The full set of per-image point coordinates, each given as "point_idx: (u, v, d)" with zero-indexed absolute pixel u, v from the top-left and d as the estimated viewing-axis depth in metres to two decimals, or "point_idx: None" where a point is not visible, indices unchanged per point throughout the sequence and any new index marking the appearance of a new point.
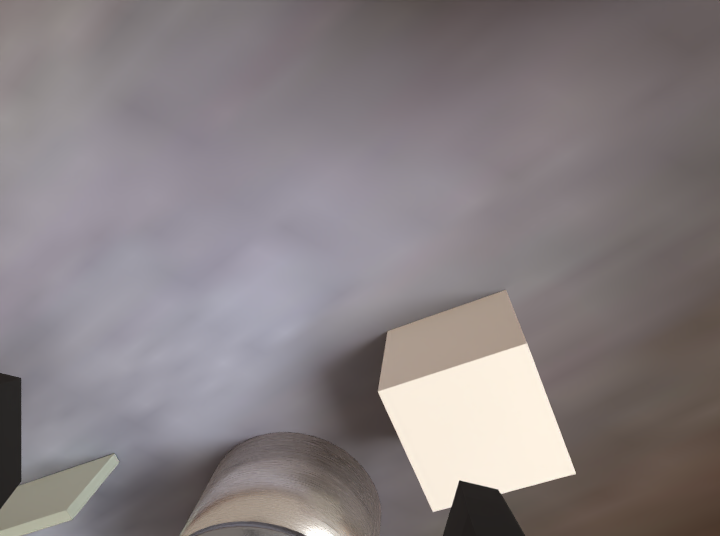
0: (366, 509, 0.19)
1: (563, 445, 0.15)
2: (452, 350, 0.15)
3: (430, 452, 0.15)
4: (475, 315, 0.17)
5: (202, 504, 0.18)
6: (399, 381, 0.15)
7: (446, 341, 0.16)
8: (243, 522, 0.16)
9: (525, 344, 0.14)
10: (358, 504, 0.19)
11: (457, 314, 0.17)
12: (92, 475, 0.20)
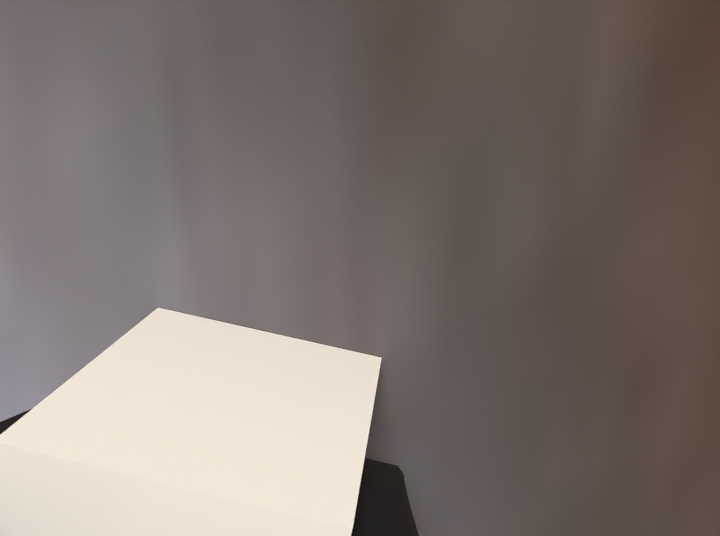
0: None
1: (265, 511, 0.06)
2: None
3: None
4: None
5: None
6: None
7: None
8: None
9: None
10: None
11: None
12: None
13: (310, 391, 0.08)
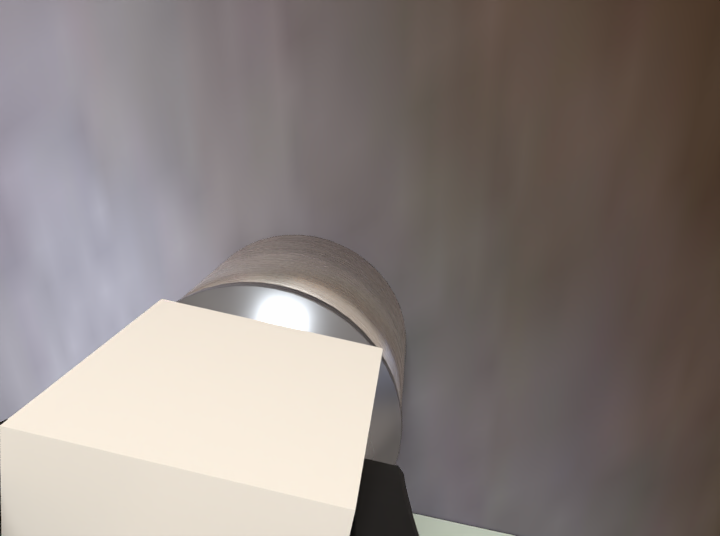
0: (295, 249, 0.15)
1: (270, 494, 0.06)
2: None
3: None
4: None
5: None
6: None
7: None
8: None
9: (2, 428, 0.06)
10: (274, 252, 0.15)
11: None
12: None
13: (312, 380, 0.08)
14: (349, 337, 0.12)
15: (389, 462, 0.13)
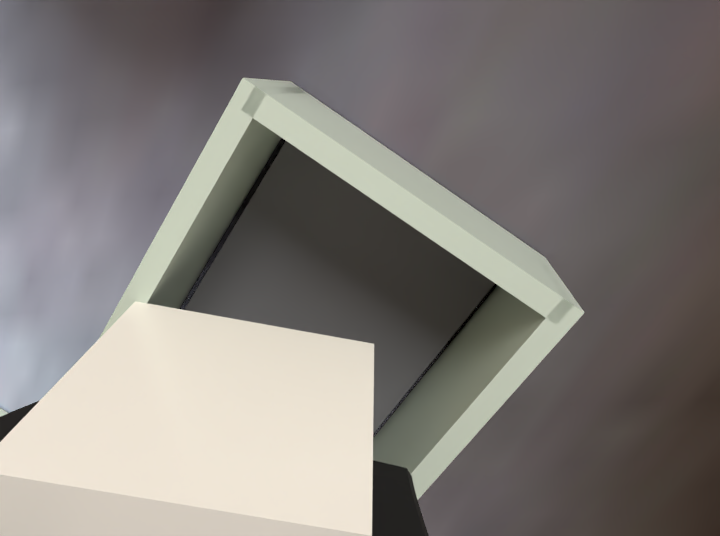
0: None
1: (280, 524, 0.06)
2: None
3: None
4: None
5: None
6: None
7: None
8: None
9: None
10: None
11: None
12: None
13: (307, 386, 0.08)
14: None
15: None
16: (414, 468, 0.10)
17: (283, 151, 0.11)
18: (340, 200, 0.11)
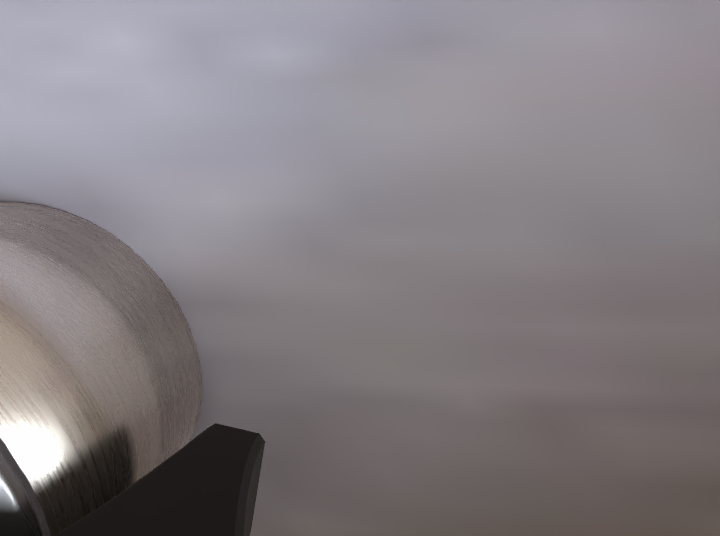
0: (164, 438, 0.09)
1: None
2: None
3: None
4: None
5: None
6: None
7: None
8: None
9: None
10: (154, 423, 0.09)
11: None
12: None
13: None
14: None
15: None
16: None
17: None
18: None
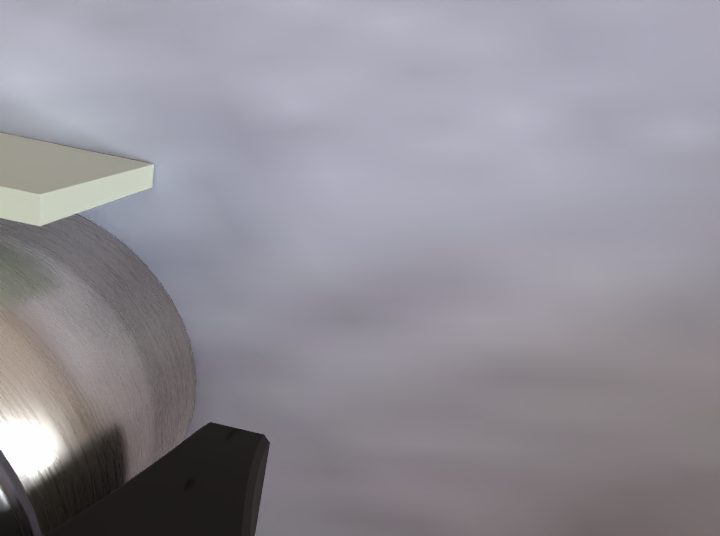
0: (158, 437, 0.09)
1: None
2: None
3: None
4: None
5: None
6: None
7: None
8: None
9: None
10: (147, 422, 0.09)
11: None
12: (105, 171, 0.09)
13: None
14: None
15: None
16: None
17: None
18: None
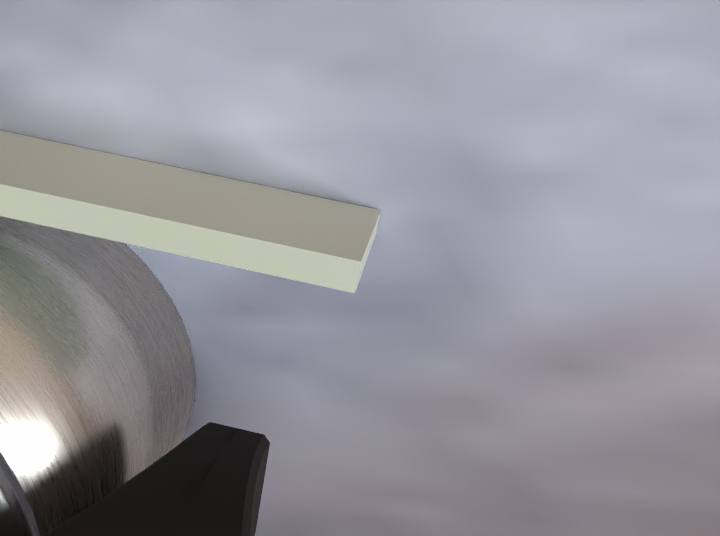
0: (157, 437, 0.09)
1: None
2: None
3: None
4: None
5: None
6: None
7: None
8: None
9: None
10: (147, 423, 0.09)
11: None
12: (361, 223, 0.08)
13: None
14: None
15: None
16: None
17: None
18: None
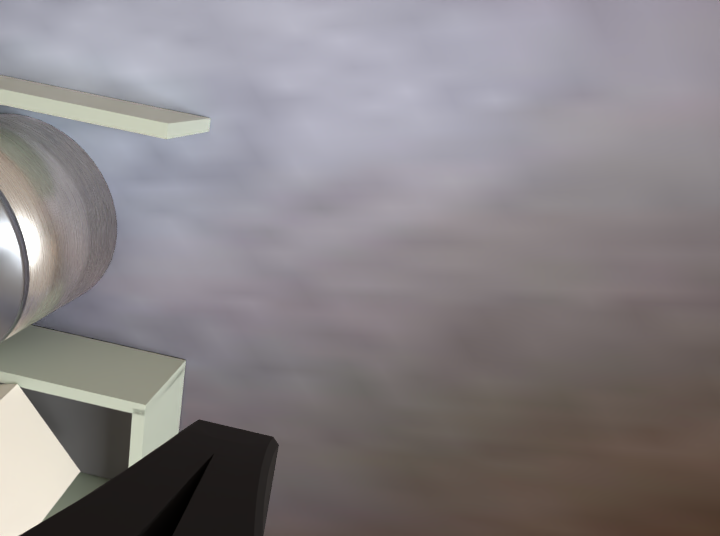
0: (90, 239, 0.17)
1: None
2: None
3: None
4: None
5: None
6: None
7: None
8: None
9: None
10: (83, 227, 0.17)
11: None
12: (188, 118, 0.16)
13: (33, 493, 0.17)
14: None
15: None
16: None
17: None
18: None
